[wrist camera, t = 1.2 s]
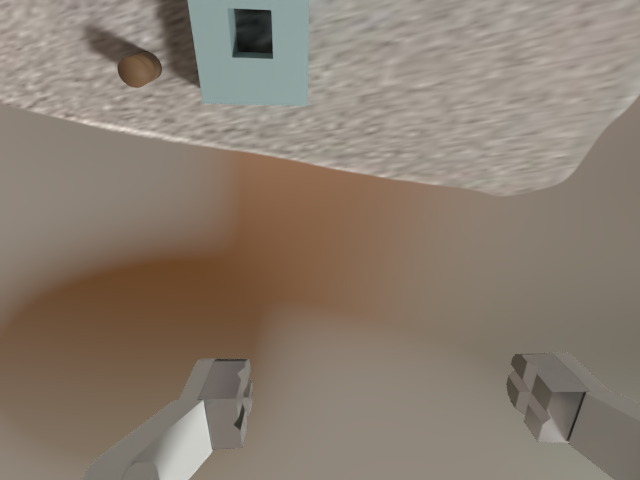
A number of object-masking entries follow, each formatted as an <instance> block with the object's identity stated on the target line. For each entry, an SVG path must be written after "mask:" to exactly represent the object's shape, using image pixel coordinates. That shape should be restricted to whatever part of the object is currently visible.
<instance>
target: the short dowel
mask: <svg viewBox="0 0 640 480" xmlns="http://www.w3.org/2000/svg"><path fill="white" fill-rule="evenodd" d="M161 72H162V66H161V63H160V61H159V59H158V58H157V57H156V56H155V55H154V54H152V53H150V52H141V53H138V54H135V55H132V56H129V57H126V58H123V59H122V60H120V62H119V64H118V73H119V76H120V77H121V79H122V80H123V81H124V82H125V83H126V84H127V85H129V86H131V87H135V88H139V87H142V86H144V85H145V84H147V83H149V82H151V81H153V80H154V79H156V78H158V77H159V76H160V74H161Z"/></svg>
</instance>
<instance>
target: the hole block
mask: <svg viewBox="0 0 640 480" xmlns="http://www.w3.org/2000/svg"><path fill="white" fill-rule="evenodd" d="M187 1H188V7H189V14H190V21H191V27H192V34H193V41H194V47H195V54H196V61H197V67H198V74H199V80H200V87H201V94H202V100H203V103H207V104H249V105H292V106H307V96H308V32H309V0H187ZM234 9H256V10H271V15H272V42H273V53H256V52H238V45H237V33H236V22H235V10H234Z"/></svg>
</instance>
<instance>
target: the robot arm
mask: <svg viewBox="0 0 640 480" xmlns="http://www.w3.org/2000/svg"><path fill="white" fill-rule="evenodd" d="M511 365H512V367H513V368H514V371H513V372H512V373H511V374H510V375H508V379H507V392H508V396H509V398H510V401H511V403H512V404H513V406H514V407H515V408H516V409H517V410H518V411H520V412H521V413H523V414H524V415H525V418H524V422H525V424H526V425H527V427H528V428H529V430H530V431H531V433H532V434H533V436H534V437H535V439H536V440H537V442H569V443H568V444H569V445H570V446H572V447H573V448H574V449H576V450H577V451H578V452H580V453H581V454H582V455H583V456H585V457H586V458H587V459H588V460H590V461H591V462H592V463H594V464H595V465H596V466H597V467H599V468H600V469H601V470H603V471H604V472H605V473H606V474H608V475H609V476H610V477H612V478H613V479H614V480H640V404H639V403H637V402H635V401H633V400H631V399H629V398H627V397H625V396H623V395H621V394H619V393H617V392H610V391H609V390H607V389H606V388H605V387H604V386H603V385H602V384H601V383H600V382H599V381H598V380H597V379H596V378H595V377H594V376H593V375H592V374H591V373H590V372H589V371H588V370H587V369H586V368H585V367H584V366H583V365H582V364H580V363H579V362H578V361H577V360H576V359H575V358H574V357H573V356H572V355H571V354H569V353H567V352H551V353H526V354H515V355H514V356H513V358H512V361H511ZM250 370H251V368H250V361H249V360H248V359H199V360H198V361H197V362H196V364H195V366H194V368H193V370H192V372H191V375H190V377H189V379H188V381H187V383H186V385H185V387H184V389H183V392H182V394H181V396H180V398H179V400H178V401H172V402H171V403H169V404H168V405H167V406H165V407H164V408H163V409H162V410H160V411H159V412H158V413H156V414H155V415H154V416H152V417H151V418H150V419H148V420H147V421H146V422H145V423H143V424H142V425H141V426H139V427H138V428H136V429H135V430H134V431H132V432H131V433H130V434H129V435H127V436H126V437H125V438H123V439H122V440H121V441H119V442H118V443H117V444H115V445H114V446H113V447H112V448H110V449H109V450H107V451H106V452H105V453H104V454H102V455H101V456H99V457H98V458H97V459H96V460H94V461H93V462H92V463H91V465H90V466H89V468H88V469H87V471H86V473H85V474H84V476H83V477H82V479H81V480H189V479H190V477H191V476H192V475H193V473H194V472H195V471H196V470H197V469H198V468H199V467H200V466H201V464H202V463H203V462H204V461H205V460H206V458H207V457H208V456H209V455H210V454H211V452H212V450H216V449H235V448H243V444H244V439H245V435H246V430H247V421H246V417H247V416H248V415H249V414H250V412H251V407H252V397H253V392H252V391H253V387H252V381H251V380H250V379H249V374H250Z"/></svg>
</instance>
